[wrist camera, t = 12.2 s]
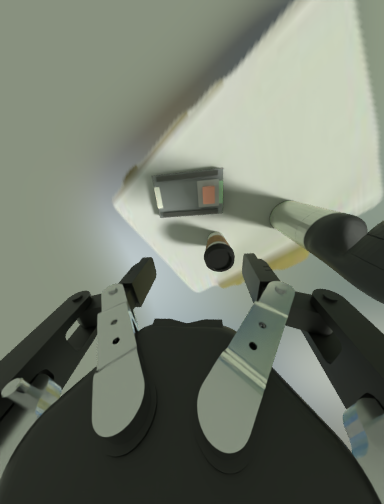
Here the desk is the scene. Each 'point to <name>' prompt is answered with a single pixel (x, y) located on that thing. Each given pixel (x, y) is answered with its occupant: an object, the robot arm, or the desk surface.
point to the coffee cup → (218, 253)
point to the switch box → (185, 193)
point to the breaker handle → (208, 192)
